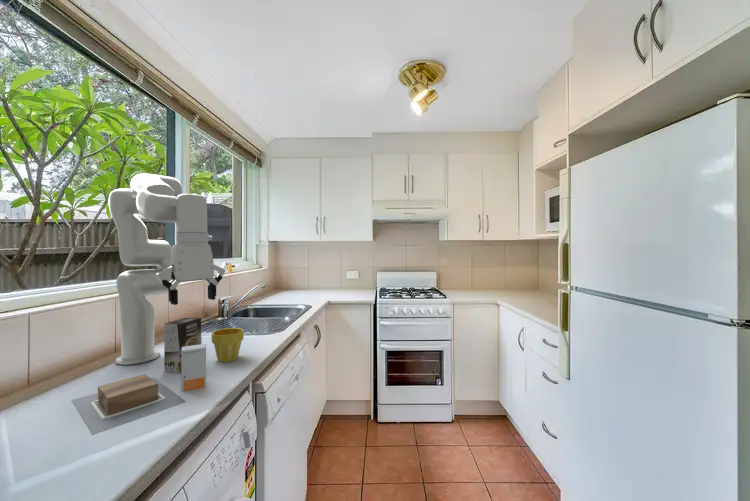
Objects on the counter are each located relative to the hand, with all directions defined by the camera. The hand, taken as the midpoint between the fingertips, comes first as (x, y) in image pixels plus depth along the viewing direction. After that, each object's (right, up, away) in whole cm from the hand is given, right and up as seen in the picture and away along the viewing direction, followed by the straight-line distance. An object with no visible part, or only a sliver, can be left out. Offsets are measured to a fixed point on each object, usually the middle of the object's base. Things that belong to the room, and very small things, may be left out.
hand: (193, 301), depth 89 cm
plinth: (-12, -24, -8) cm, 28 cm away
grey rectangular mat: (-12, -25, -8) cm, 29 cm away
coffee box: (-12, -25, +15) cm, 31 cm away
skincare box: (0, -25, +1) cm, 25 cm away
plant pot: (-2, -24, +25) cm, 35 cm away
